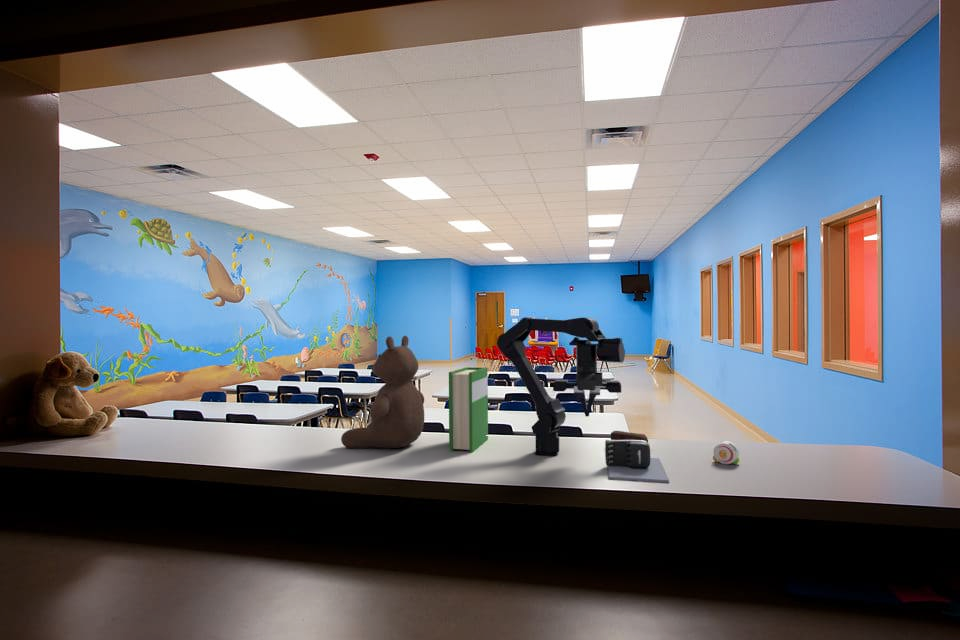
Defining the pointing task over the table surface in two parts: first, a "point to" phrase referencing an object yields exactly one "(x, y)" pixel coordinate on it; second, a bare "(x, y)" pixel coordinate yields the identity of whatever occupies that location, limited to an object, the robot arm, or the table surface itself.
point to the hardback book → (468, 408)
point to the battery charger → (627, 453)
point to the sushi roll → (726, 453)
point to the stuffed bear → (392, 403)
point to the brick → (627, 436)
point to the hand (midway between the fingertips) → (587, 416)
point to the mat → (640, 472)
